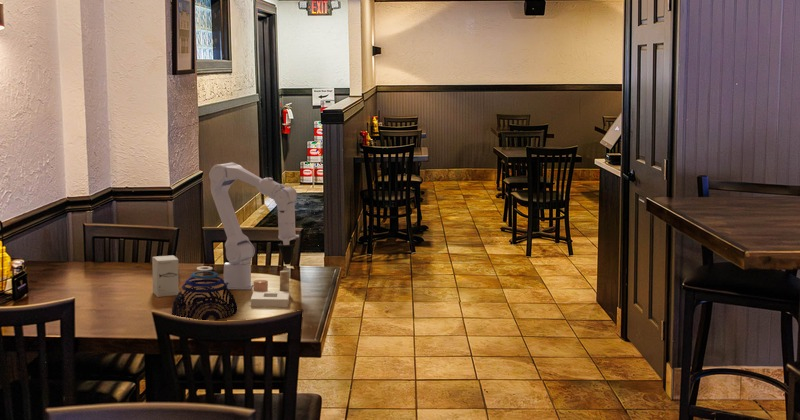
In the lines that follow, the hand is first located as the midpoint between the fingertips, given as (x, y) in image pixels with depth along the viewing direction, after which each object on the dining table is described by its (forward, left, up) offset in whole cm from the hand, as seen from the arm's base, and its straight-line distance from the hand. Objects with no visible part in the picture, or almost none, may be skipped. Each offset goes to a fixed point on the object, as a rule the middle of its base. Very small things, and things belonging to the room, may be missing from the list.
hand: (288, 262), depth 296 cm
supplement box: (-41, -1, -12) cm, 43 cm away
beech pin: (-1, 0, -11) cm, 11 cm away
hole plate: (-5, -11, -11) cm, 16 cm away
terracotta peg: (-9, -2, -11) cm, 15 cm away
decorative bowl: (-25, -22, -12) cm, 35 cm away
